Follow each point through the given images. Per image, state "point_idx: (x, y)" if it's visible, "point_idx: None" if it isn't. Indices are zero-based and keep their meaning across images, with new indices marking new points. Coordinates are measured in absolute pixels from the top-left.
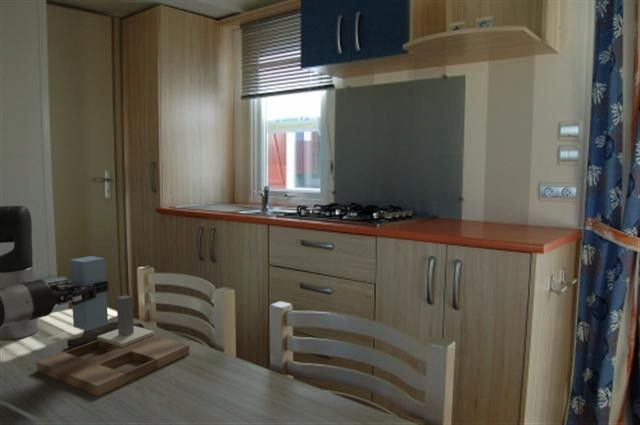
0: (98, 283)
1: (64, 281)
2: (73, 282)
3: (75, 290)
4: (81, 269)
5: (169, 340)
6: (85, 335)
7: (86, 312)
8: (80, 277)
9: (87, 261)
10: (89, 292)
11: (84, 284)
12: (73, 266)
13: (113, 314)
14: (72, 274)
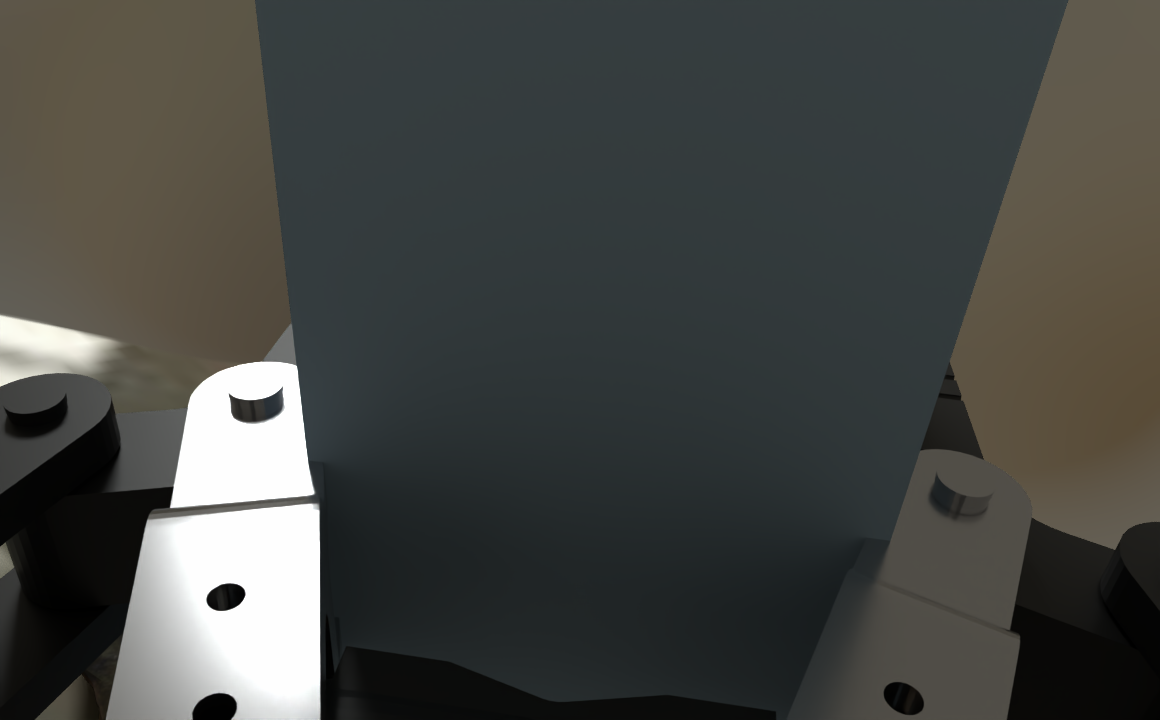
0: None
1: (223, 525)
2: (413, 466)
3: (476, 612)
4: (882, 143)
5: None
6: None
7: None
8: (763, 367)
9: None
10: (1119, 706)
11: (890, 524)
12: (456, 47)
13: (56, 349)
14: (383, 284)
